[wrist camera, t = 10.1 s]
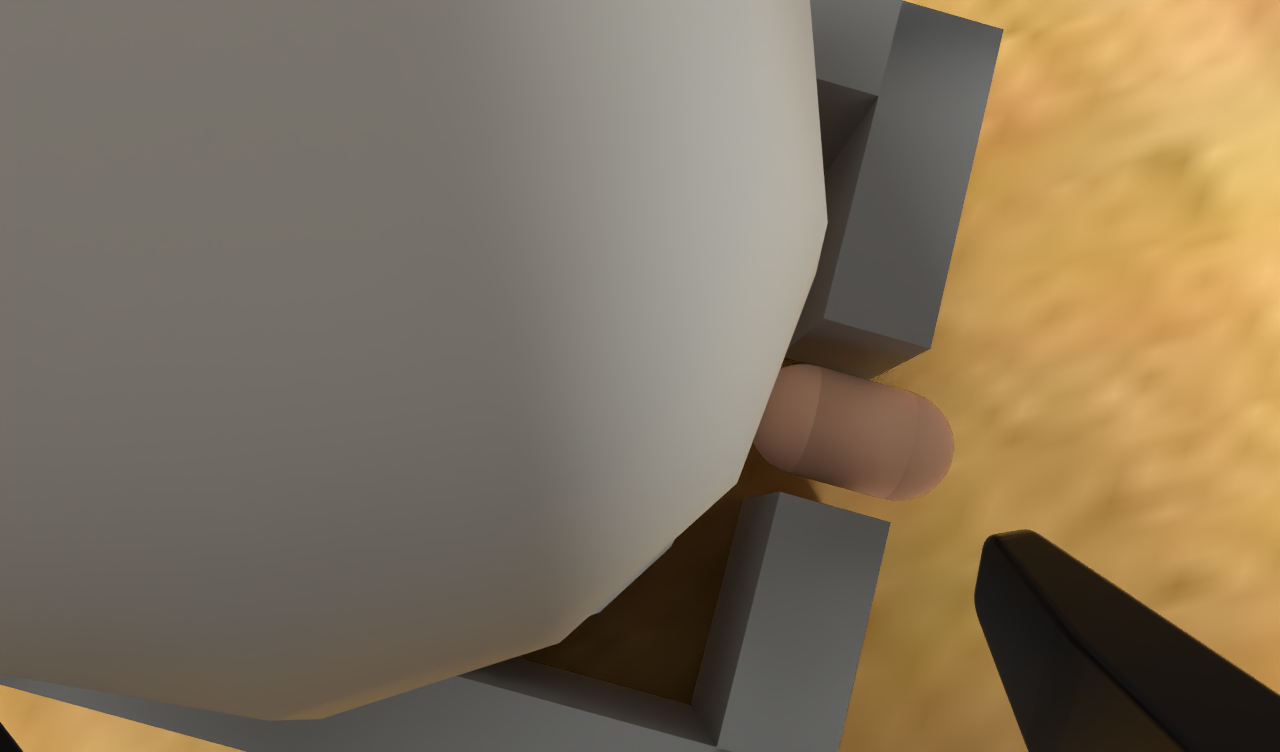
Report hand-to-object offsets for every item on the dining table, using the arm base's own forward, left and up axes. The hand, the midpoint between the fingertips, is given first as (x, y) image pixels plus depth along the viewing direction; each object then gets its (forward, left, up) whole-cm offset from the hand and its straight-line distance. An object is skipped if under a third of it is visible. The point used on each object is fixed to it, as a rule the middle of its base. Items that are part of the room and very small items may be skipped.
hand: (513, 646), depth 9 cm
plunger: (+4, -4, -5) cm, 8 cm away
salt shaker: (+2, +1, -7) cm, 7 cm away
